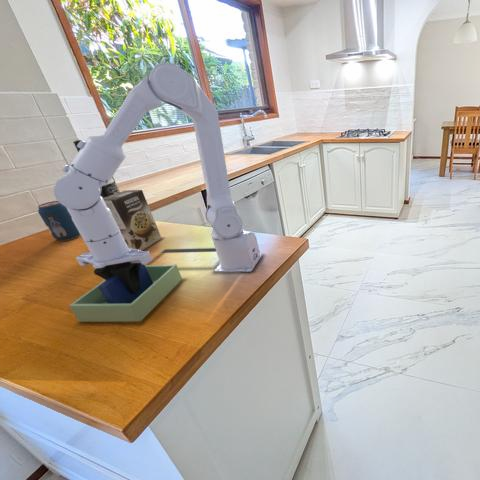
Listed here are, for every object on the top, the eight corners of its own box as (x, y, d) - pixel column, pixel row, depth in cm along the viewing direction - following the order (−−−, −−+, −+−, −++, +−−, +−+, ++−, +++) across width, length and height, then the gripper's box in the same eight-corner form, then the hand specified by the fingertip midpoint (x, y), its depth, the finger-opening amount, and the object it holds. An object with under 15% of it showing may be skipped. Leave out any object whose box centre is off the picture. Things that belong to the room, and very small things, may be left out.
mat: (231, 249, 82) (231, 247, 82) (214, 268, 73) (213, 267, 73) (165, 250, 84) (164, 249, 84) (141, 270, 75) (140, 268, 75)
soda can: (79, 231, 102) (60, 198, 96) (85, 235, 98) (66, 201, 92) (53, 239, 97) (32, 205, 91) (58, 244, 93) (37, 209, 87)
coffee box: (139, 252, 84) (114, 200, 76) (121, 252, 85) (95, 200, 77) (163, 238, 91) (142, 189, 84) (146, 237, 93) (124, 189, 85)
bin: (183, 280, 69) (176, 264, 67) (141, 323, 57) (131, 305, 55) (132, 281, 70) (124, 265, 68) (80, 323, 58) (68, 305, 56)
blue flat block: (153, 284, 68) (141, 258, 64) (121, 313, 59) (105, 286, 56) (147, 284, 68) (135, 259, 65) (113, 313, 59) (97, 286, 56)
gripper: (48, 246, 53) (84, 303, 60) (120, 244, 52) (150, 303, 58) (82, 229, 60) (112, 283, 66) (147, 227, 58) (171, 282, 64)
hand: (131, 291), depth 62 cm, fingers closed on blue flat block, 2 cm apart
